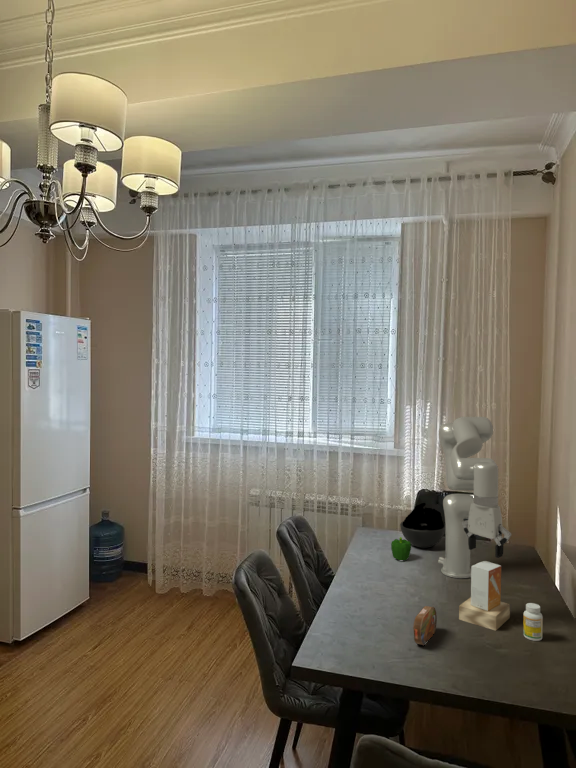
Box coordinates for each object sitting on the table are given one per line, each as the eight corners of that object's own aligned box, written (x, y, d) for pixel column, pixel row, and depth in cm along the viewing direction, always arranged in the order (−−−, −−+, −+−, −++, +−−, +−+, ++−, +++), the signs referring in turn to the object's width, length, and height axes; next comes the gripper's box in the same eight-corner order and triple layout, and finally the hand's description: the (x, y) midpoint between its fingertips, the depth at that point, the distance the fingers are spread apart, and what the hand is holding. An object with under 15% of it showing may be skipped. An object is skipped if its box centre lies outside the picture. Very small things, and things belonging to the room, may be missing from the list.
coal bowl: (431, 556, 241) (431, 513, 241) (391, 547, 255) (391, 506, 254) (452, 546, 256) (452, 505, 256) (414, 537, 270) (414, 498, 269)
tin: (422, 650, 161) (422, 621, 161) (411, 647, 163) (411, 619, 162) (437, 629, 174) (437, 603, 174) (427, 627, 175) (427, 601, 175)
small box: (488, 611, 176) (488, 570, 176) (470, 605, 181) (470, 565, 180) (501, 604, 181) (501, 565, 181) (483, 598, 186) (483, 560, 186)
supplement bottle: (538, 643, 165) (538, 611, 165) (520, 636, 169) (520, 605, 168) (545, 637, 168) (545, 605, 168) (527, 631, 172) (528, 600, 172)
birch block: (459, 620, 181) (459, 605, 181) (474, 609, 190) (474, 594, 190) (495, 632, 173) (495, 616, 173) (509, 619, 182) (509, 604, 182)
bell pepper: (396, 554, 244) (396, 532, 244) (413, 558, 240) (413, 535, 239) (387, 560, 238) (387, 537, 237) (405, 564, 233) (405, 540, 232)
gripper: (456, 497, 185) (455, 548, 185) (504, 507, 171) (503, 562, 172) (469, 494, 189) (468, 543, 190) (517, 503, 176) (516, 557, 176)
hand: (485, 552), depth 181 cm, fingers open, 9 cm apart
